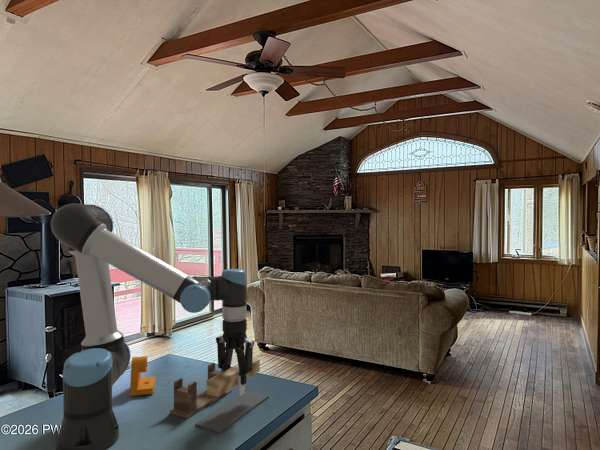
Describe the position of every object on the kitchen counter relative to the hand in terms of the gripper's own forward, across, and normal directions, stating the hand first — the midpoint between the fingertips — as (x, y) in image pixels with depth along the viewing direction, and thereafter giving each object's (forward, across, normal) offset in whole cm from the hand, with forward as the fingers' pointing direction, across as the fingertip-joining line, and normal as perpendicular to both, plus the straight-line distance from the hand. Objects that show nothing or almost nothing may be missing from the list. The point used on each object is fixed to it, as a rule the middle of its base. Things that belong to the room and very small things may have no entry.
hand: (235, 392), depth 128 cm
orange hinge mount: (+6, +38, +3) cm, 38 cm away
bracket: (+6, +13, 0) cm, 14 cm away
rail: (-3, 0, 0) cm, 3 cm away
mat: (+6, 0, 0) cm, 6 cm away
